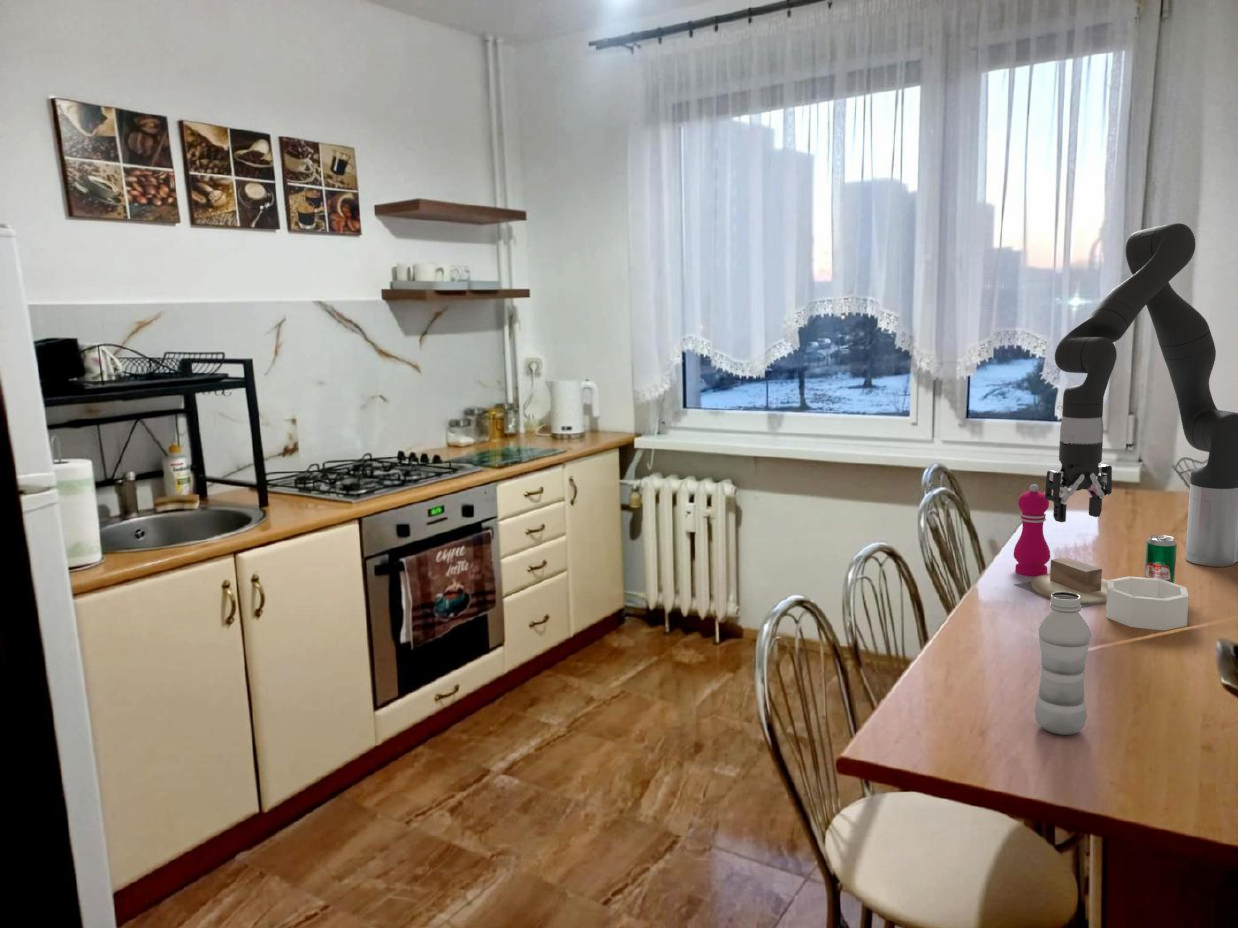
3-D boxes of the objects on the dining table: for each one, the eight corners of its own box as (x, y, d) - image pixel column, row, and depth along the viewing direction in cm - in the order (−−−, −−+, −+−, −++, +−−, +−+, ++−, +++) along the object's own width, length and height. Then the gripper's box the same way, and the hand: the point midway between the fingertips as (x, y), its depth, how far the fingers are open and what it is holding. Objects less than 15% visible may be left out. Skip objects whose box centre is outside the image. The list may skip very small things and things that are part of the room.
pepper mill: (1053, 579, 186) (1057, 487, 182) (1017, 579, 188) (1020, 488, 184) (1044, 568, 193) (1047, 480, 189) (1009, 568, 195) (1012, 480, 191)
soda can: (1140, 597, 173) (1143, 538, 171) (1146, 590, 177) (1150, 533, 175) (1170, 602, 170) (1173, 542, 168) (1175, 595, 173) (1179, 536, 171)
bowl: (1142, 603, 170) (1143, 573, 169) (1202, 624, 158) (1204, 593, 157) (1090, 613, 166) (1091, 583, 165) (1148, 636, 155) (1149, 603, 154)
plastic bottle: (1024, 720, 127) (1029, 590, 124) (1069, 716, 128) (1074, 586, 124) (1049, 742, 121) (1055, 605, 117) (1096, 738, 122) (1103, 601, 118)
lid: (1075, 573, 188) (1076, 548, 187) (1139, 596, 173) (1140, 569, 172) (1013, 584, 183) (1014, 559, 182) (1074, 608, 168) (1075, 581, 167)
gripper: (1094, 433, 178) (1090, 510, 181) (1037, 439, 174) (1034, 518, 177) (1125, 438, 171) (1120, 518, 174) (1066, 445, 167) (1062, 527, 170)
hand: (1077, 518), depth 175 cm, fingers open, 8 cm apart
